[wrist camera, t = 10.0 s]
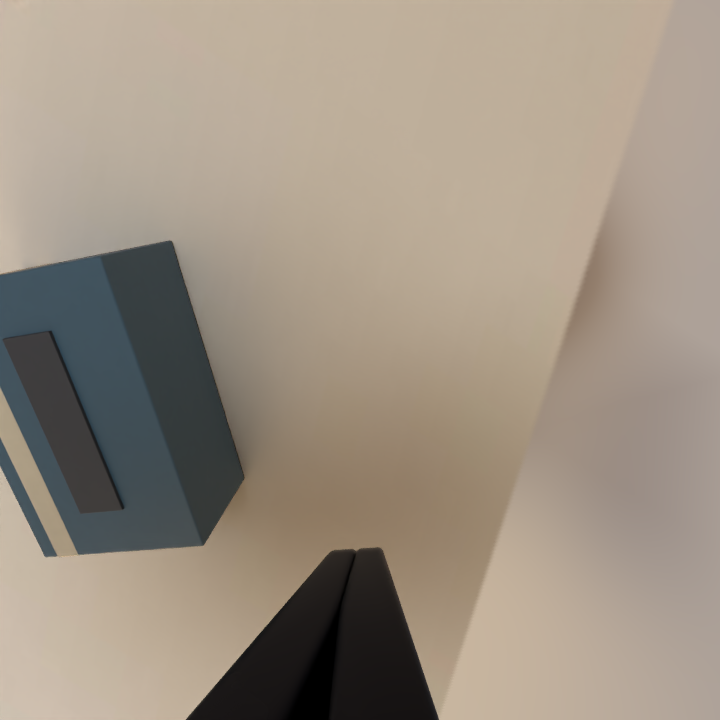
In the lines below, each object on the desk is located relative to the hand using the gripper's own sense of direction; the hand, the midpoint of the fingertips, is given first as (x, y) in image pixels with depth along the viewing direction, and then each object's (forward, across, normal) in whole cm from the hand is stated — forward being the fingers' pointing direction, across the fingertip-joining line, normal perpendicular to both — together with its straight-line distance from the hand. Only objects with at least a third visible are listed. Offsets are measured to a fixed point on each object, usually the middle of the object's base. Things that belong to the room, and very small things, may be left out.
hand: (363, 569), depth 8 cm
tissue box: (+10, +12, 0) cm, 15 cm away
